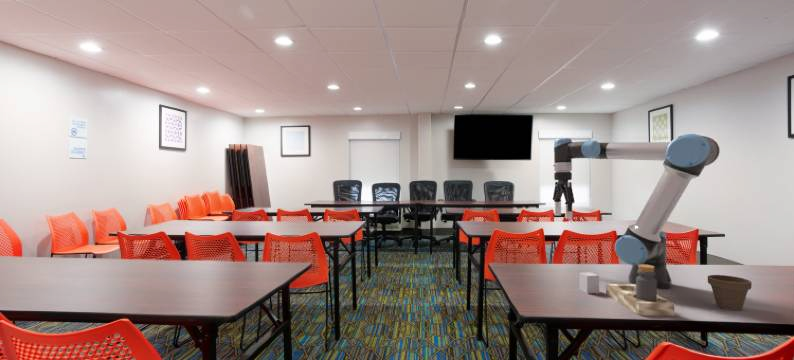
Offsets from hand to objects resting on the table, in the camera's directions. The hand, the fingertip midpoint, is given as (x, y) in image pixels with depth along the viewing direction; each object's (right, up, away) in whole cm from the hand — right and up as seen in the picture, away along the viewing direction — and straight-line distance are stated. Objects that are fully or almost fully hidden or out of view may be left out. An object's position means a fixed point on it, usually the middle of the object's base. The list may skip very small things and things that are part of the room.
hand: (563, 217), depth 174 cm
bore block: (+8, -27, -41) cm, 50 cm away
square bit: (-2, -27, -27) cm, 38 cm away
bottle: (+8, -27, -47) cm, 55 cm away
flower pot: (+37, -27, -45) cm, 65 cm away
